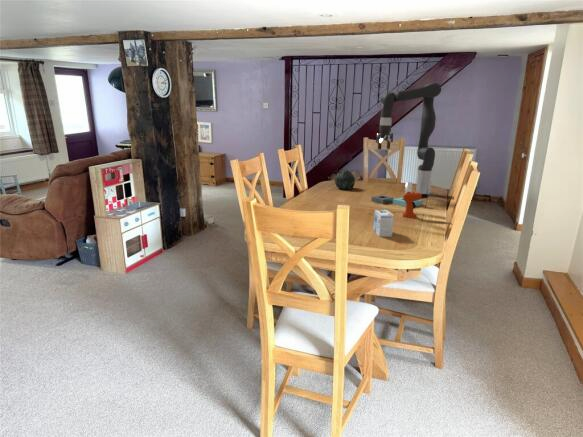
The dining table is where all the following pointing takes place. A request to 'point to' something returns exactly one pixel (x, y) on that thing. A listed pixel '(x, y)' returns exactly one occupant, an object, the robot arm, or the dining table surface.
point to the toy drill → (412, 203)
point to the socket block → (382, 199)
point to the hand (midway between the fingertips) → (383, 149)
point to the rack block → (401, 202)
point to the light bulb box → (383, 223)
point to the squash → (345, 180)
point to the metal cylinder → (408, 187)
